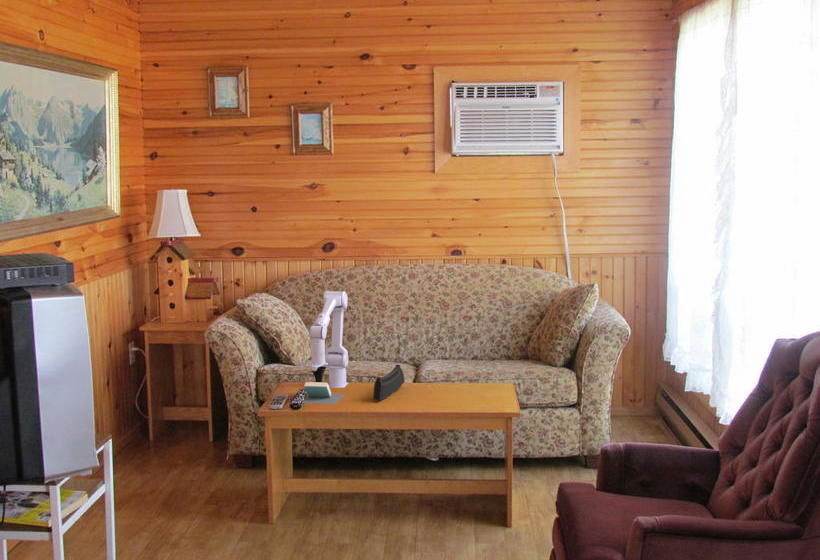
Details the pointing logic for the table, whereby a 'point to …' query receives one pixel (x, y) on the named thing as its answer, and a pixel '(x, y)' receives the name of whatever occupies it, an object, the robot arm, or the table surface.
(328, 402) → the mat
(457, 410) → the table surface
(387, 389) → the magazine
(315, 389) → the tile
